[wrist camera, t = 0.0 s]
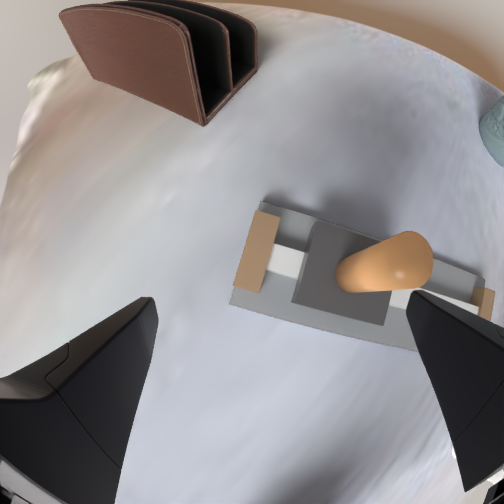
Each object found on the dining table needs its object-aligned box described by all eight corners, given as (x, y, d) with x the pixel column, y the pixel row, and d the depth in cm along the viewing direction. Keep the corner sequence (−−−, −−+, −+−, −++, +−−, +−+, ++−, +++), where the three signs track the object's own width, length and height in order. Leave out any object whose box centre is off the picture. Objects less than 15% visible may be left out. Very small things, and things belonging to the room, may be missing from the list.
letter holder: (205, 129, 27) (176, 19, 13) (93, 80, 28) (48, 11, 14) (258, 72, 28) (261, -29, 14) (142, 35, 30) (116, -35, 16)
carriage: (290, 302, 21) (325, 307, 11) (311, 227, 22) (355, 173, 12) (372, 324, 21) (451, 338, 11) (389, 252, 22) (468, 222, 12)
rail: (229, 303, 24) (226, 304, 21) (260, 204, 25) (261, 192, 22) (463, 358, 23) (480, 362, 20) (479, 279, 24) (496, 277, 21)
